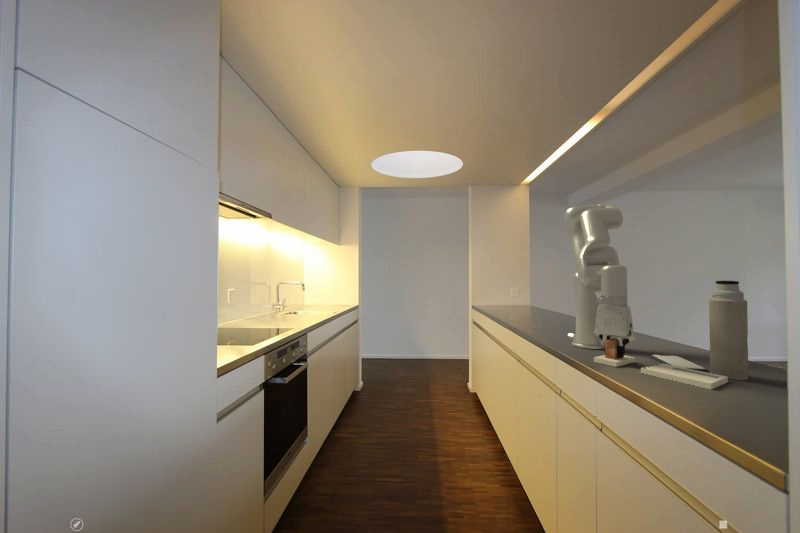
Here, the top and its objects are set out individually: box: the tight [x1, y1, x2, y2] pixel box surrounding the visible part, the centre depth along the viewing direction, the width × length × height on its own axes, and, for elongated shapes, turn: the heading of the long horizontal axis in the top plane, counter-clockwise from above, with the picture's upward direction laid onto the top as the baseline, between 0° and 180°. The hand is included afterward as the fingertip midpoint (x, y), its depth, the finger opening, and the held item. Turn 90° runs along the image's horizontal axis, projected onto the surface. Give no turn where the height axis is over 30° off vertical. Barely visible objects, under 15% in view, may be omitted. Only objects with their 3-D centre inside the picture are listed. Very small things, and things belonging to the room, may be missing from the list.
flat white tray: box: [640, 362, 729, 391], centre depth 95 cm, size 16×12×2 cm
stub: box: [593, 337, 636, 368], centre depth 111 cm, size 7×12×8 cm, turn 120°
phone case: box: [650, 354, 708, 373], centre depth 109 cm, size 9×2×16 cm
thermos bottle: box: [708, 280, 749, 381], centre depth 97 cm, size 8×8×28 cm
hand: (614, 355), depth 111 cm, fingers closed on stub, 3 cm apart
